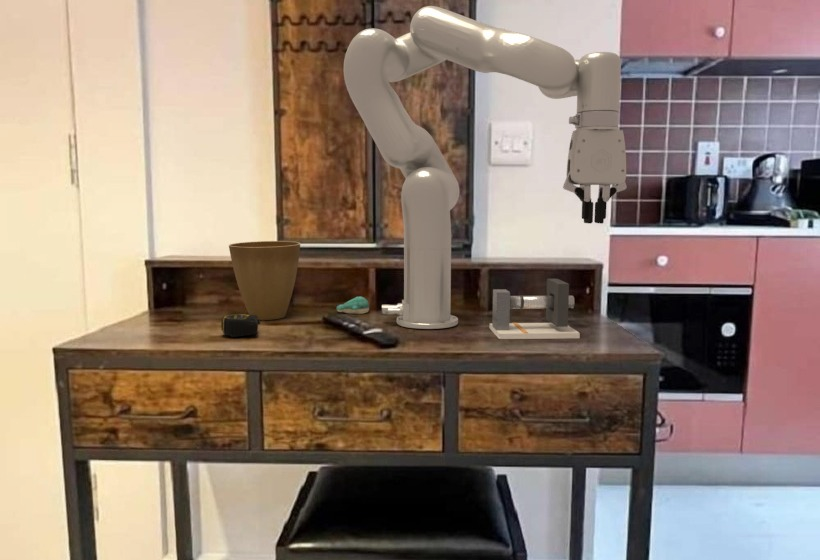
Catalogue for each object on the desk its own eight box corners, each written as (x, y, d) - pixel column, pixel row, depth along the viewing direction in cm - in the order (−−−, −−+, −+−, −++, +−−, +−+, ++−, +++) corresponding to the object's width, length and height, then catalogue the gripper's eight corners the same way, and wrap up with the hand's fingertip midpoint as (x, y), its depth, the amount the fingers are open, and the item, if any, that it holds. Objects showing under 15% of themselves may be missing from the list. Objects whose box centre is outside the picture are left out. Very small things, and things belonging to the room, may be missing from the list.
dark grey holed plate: (557, 326, 121) (558, 284, 120) (545, 318, 129) (546, 278, 128) (567, 326, 121) (569, 283, 120) (555, 318, 129) (557, 278, 128)
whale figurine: (370, 315, 145) (370, 298, 144) (337, 316, 144) (336, 299, 143) (368, 310, 151) (367, 294, 150) (336, 311, 149) (335, 295, 149)
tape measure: (257, 339, 120) (257, 319, 120) (219, 340, 119) (218, 320, 119) (260, 331, 127) (259, 312, 126) (223, 332, 126) (223, 313, 125)
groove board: (499, 339, 120) (499, 333, 120) (489, 328, 130) (489, 322, 130) (579, 338, 121) (579, 332, 121) (563, 327, 131) (564, 322, 130)
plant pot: (245, 310, 149) (243, 240, 147) (309, 311, 148) (307, 241, 146) (220, 323, 134) (217, 245, 132) (291, 324, 133) (289, 246, 131)
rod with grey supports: (496, 330, 123) (496, 292, 122) (492, 326, 127) (493, 289, 126) (574, 329, 124) (576, 292, 123) (568, 325, 128) (569, 289, 127)
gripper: (561, 120, 117) (558, 224, 119) (646, 121, 118) (642, 224, 120) (550, 125, 124) (547, 222, 127) (630, 125, 125) (626, 222, 127)
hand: (593, 222), depth 123 cm, fingers closed
